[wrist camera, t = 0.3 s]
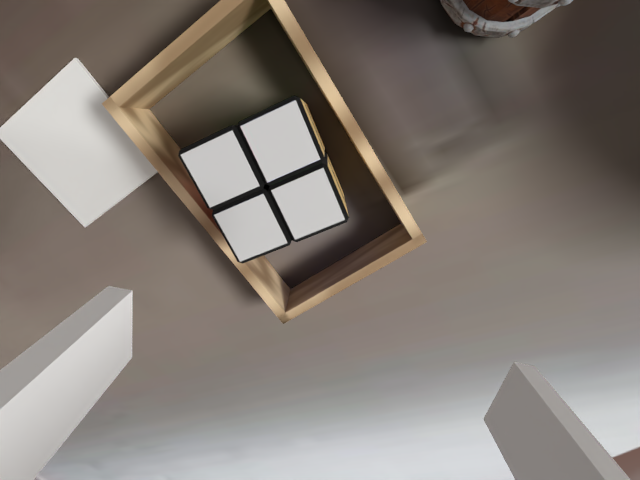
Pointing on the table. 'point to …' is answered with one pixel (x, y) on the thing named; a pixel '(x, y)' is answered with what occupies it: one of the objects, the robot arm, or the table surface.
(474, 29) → the mug
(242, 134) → the puzzle cube
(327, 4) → the table surface
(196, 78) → the table surface
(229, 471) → the table surface
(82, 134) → the pad
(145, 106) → the wooden frame
